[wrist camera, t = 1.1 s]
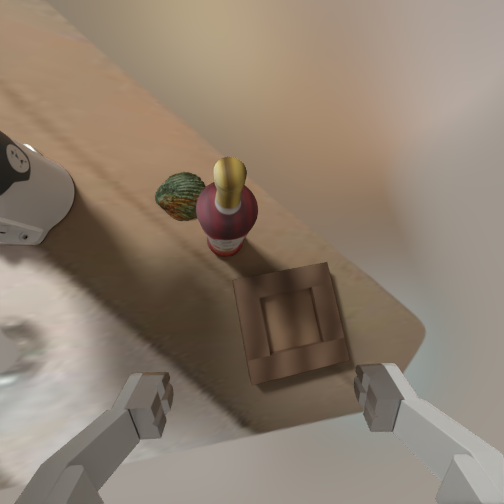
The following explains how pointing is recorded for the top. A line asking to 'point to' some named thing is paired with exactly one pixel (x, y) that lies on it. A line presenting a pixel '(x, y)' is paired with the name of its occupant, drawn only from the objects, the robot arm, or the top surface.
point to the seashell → (180, 195)
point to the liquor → (227, 208)
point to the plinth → (289, 322)
